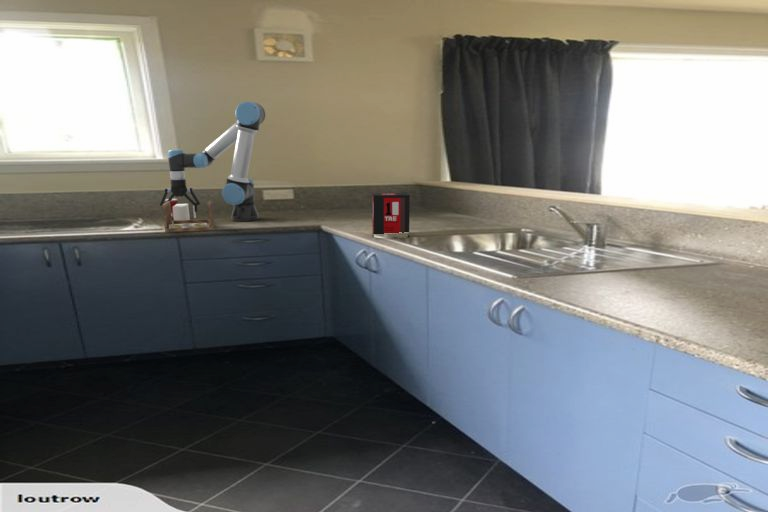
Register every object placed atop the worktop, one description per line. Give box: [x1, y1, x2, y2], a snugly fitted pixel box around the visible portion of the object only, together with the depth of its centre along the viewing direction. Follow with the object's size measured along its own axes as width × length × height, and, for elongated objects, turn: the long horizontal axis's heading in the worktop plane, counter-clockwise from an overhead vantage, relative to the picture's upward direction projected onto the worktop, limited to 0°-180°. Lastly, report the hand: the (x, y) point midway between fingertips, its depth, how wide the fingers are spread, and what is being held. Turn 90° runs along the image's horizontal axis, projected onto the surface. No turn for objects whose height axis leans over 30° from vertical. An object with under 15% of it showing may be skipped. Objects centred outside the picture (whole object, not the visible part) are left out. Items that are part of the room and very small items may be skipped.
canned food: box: [164, 198, 179, 220], centre depth 288 cm, size 8×8×11 cm
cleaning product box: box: [371, 192, 411, 235], centre depth 233 cm, size 16×9×20 cm, turn 95°
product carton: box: [173, 203, 191, 221], centre depth 271 cm, size 12×6×10 cm, turn 12°
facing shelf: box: [161, 199, 215, 233], centre depth 255 cm, size 22×14×14 cm, turn 102°
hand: (181, 218), depth 272 cm, fingers open, 13 cm apart
